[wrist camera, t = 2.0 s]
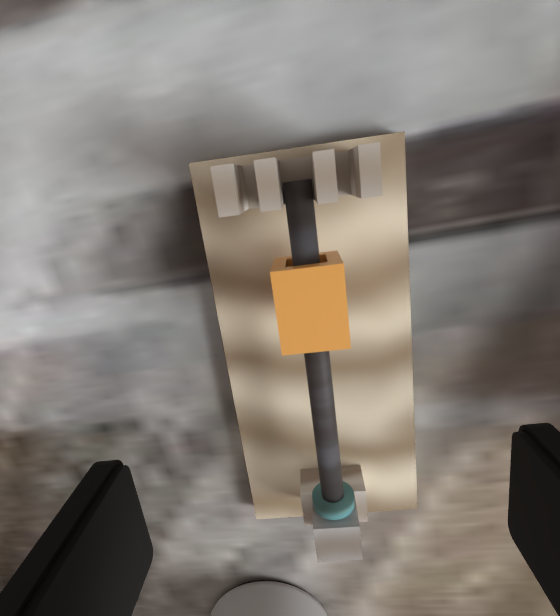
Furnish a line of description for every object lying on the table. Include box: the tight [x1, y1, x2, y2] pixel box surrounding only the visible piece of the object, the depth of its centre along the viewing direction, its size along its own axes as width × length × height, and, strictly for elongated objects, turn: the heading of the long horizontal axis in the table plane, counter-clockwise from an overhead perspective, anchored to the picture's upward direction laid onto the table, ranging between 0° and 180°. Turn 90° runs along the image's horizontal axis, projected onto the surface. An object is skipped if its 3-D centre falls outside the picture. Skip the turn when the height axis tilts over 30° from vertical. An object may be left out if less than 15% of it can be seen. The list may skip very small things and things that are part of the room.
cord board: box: [189, 132, 417, 562], centre depth 27 cm, size 30×14×9 cm, turn 8°
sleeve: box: [270, 250, 351, 356], centre depth 24 cm, size 5×4×4 cm
